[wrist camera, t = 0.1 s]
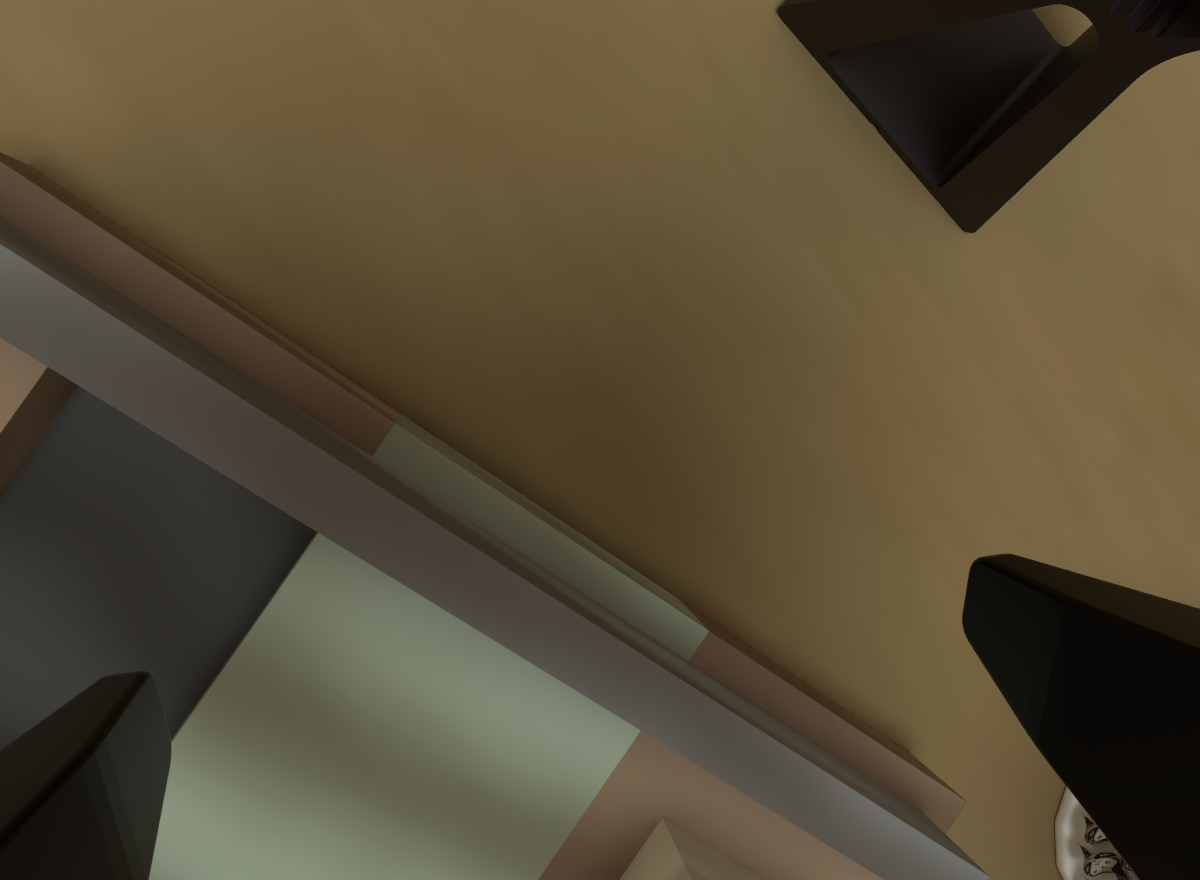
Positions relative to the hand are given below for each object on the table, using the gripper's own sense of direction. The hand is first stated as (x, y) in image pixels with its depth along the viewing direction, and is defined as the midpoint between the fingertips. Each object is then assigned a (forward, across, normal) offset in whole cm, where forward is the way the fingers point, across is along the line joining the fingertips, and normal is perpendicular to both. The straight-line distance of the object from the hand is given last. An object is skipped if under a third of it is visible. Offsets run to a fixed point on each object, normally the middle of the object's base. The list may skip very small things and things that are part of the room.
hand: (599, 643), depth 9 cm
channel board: (+13, +4, +11) cm, 18 cm away
